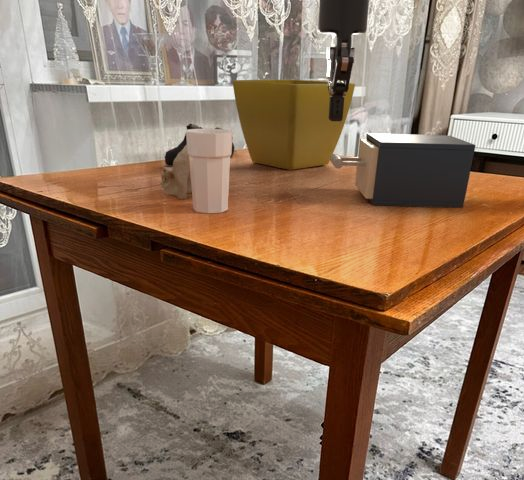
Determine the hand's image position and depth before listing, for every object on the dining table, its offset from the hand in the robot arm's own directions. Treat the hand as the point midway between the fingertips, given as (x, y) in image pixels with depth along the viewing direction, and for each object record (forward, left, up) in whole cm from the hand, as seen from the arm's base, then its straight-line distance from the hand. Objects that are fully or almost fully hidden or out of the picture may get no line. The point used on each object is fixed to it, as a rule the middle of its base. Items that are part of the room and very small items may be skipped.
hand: (335, 120), depth 90 cm
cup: (+20, +16, -12) cm, 28 cm away
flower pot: (+6, -29, -12) cm, 32 cm away
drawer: (-9, +4, -11) cm, 14 cm away
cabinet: (-13, +4, -12) cm, 18 cm away
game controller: (+25, -20, -12) cm, 34 cm away
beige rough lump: (+26, +6, -12) cm, 29 cm away
